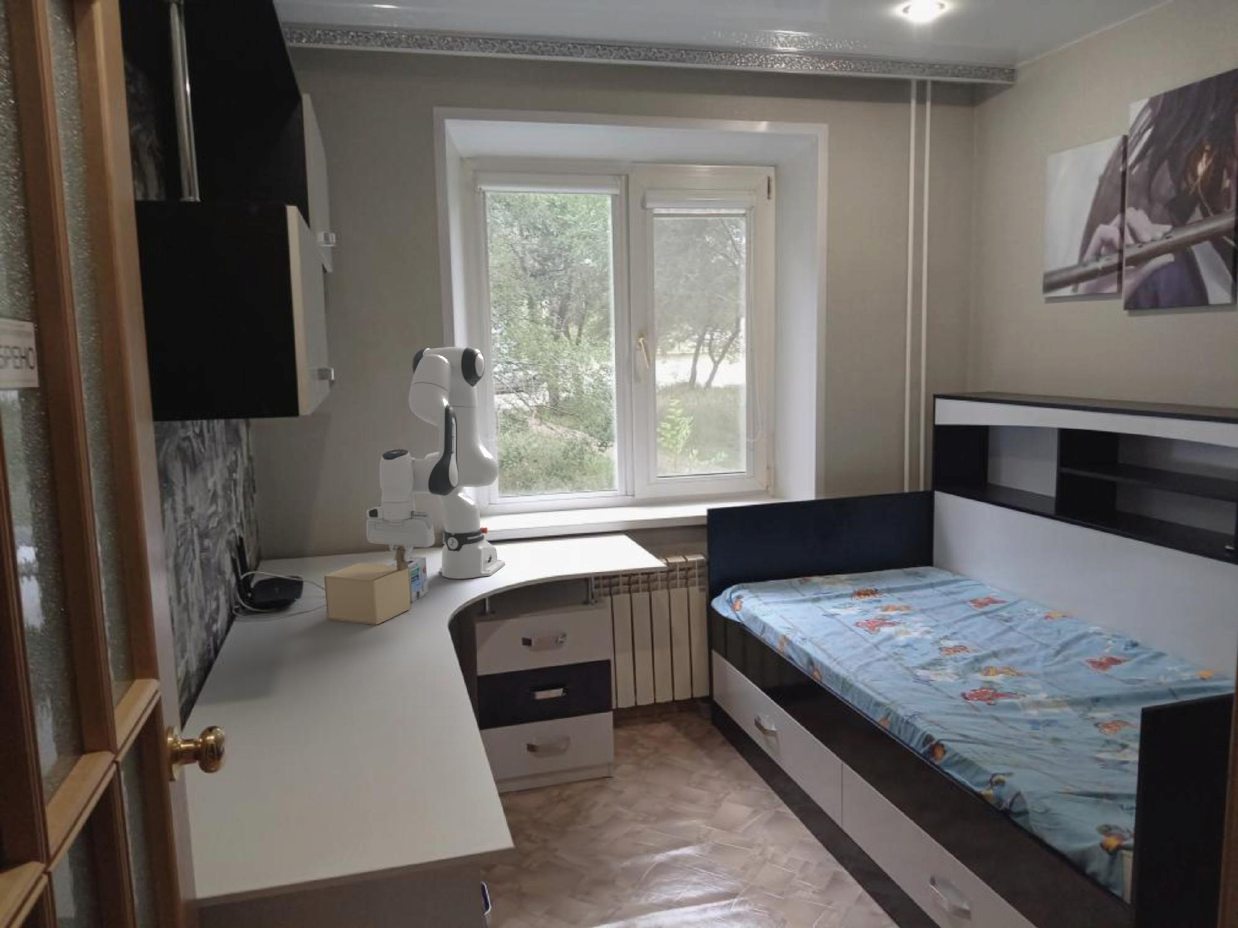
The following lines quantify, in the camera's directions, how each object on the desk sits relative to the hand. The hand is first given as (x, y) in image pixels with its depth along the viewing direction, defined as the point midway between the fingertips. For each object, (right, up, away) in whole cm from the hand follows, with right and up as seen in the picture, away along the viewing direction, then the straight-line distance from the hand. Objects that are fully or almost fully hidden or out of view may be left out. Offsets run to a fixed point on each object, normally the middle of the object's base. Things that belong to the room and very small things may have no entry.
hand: (402, 560), depth 230 cm
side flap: (-2, -15, -3) cm, 15 cm away
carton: (-9, -15, +1) cm, 17 cm away
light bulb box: (-2, -13, +16) cm, 20 cm away
